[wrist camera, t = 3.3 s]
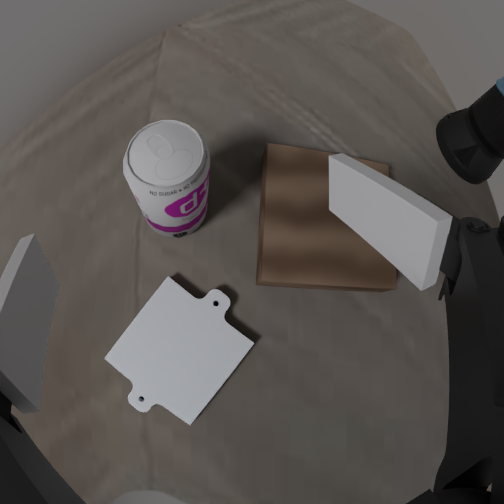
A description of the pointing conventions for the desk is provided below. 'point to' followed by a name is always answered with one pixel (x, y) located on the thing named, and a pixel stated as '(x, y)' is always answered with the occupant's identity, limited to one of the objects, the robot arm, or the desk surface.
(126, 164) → the supplement can
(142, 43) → the desk surface
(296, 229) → the walnut riser
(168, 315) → the mounting plate
